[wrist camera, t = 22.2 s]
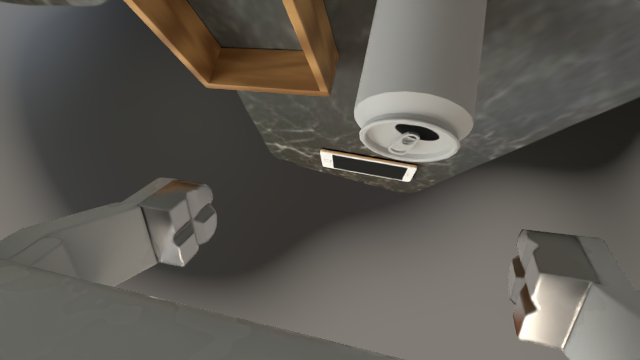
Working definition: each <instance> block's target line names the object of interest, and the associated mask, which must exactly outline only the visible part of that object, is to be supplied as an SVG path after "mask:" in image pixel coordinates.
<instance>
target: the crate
mask: <svg viewBox="0 0 640 360" xmlns="http://www.w3.org/2000/svg"><path fill="white" fill-rule="evenodd" d="M124 1H125V2H126V3H127V4H128V5H129V6H130V7H131V9H132V10H133V11H134V12H135V13H136V14H137V15H138V16H139V17H140V18H141V19H142V20H143V21H144V22H145V23H146V24H147V25H148V26H149V28H150V29H151V30H152V31H153V32H154V33H155V34H156V35H157V36H158V37H159V38H160V39H161V40H162V41H163V42H164V43H165V45H166V46H167V47H168V48H169V49H170V50H171V51H172V52H173V53H174V54H175V55H176V56H177V57H178V58H179V59H180V60H181V61H182V62H183V63H184V65H185V66H186V67H187V68H188V69H189V70H190V71H191V72H192V73H193V74H194V75H195V76H196V77H197V78H198V79H199V80H200V81H201V83H203V84H204V86H206V87H207V88H218V89H231V90H245V91H259V92H273V93H286V94H300V95H314V96H328V97H330V94H331V90H332V86H333V81H334V77H335V73H336V68H337V64H338V60H339V55H338V51H337V48H336V44H335V41H334V37H333V34H332V30H331V27H330V23H329V20H328V16H327V13H326V9H325V6H324V2H323V0H282V1H283V4H284V6H285V8H286V11H287V13H288V15H289V18H290V20H291V23H292V25H293V27H294V30H295V32H296V34H297V37H298V39H299V42H300V44H301V46H302V49H303V51H298V50H270V49H242V48H221V46H220V45H219V44H218V42H217V41H216V40H215V38H214V37H213V36H212V34H211V33H210V32H209V30H208V29H207V28H206V26H205V25H204V23H203V22H202V21H201V19H200V18H199V17H198V15H197V14H196V13H195V11H194V10H193V9H192V7H191V6H190V4H189V3H188V2H187V0H124Z"/></svg>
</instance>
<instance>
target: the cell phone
mask: <svg viewBox="0 0 640 360" xmlns="http://www.w3.org/2000/svg"><path fill="white" fill-rule="evenodd" d="M320 155H321V159H322V164H323V166H324V167H329V168H334V169H340V170H345V171H351V172H356V173H362V174H367V175H373V176H378V177H384V178H390V179H395V180H401V181H407V182H409V181H410V180H411V179H412V177H413V175H414V173H415V172H416V170H417V166H416V165H411V164H405V163H399V162H394V161H388V160H382V159H376V158H371V157H365V156H359V155H353V154H348V153H342V152H336V151H330V150H325V149H321V151H320Z"/></svg>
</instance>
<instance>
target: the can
mask: <svg viewBox="0 0 640 360" xmlns="http://www.w3.org/2000/svg"><path fill="white" fill-rule="evenodd" d="M486 7H487V0H377V3H376V8H375V13H374V18H373V23H372V27H371V32H370V37H369V42H368V47H367V51H366V56H365V61H364V66H363V70H362V75H361V80H360V85H359V90H358V94H357V99H356V104H355V109H354V116H355V120H356V122H357V123H358V125H359V126H360V127H361V131H360V132H359V135H360V140H361V141H362V142H363V144H364V145H365V146H366V147H367V148H369V149H371V150H372V151H374V152H376V153H378V154H380V155H383V156H386V157H389V158H393V159H397V160H403V161H410V162H431V161H439V160H442V159H446V158H449V157H450V156H452V155H454V154H455V153H457V151H458V149H459V148H460V143H459V141H460V140H462V139H463V138H464V137H466V136H467V135H468V134H469V133H470V131H471V129H472V128H473V125H474V116H475V107H476V98H477V89H478V80H479V71H480V62H481V53H482V43H483V34H484V25H485V16H486Z"/></svg>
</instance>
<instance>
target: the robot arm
mask: <svg viewBox="0 0 640 360" xmlns="http://www.w3.org/2000/svg"><path fill="white" fill-rule="evenodd" d="M212 199H213V195H212V191H211V188H210V187H209V186H208V185H206V184H201V183H195V182H189V181H182V180H176V179H169V178H158V179H156V180H155V181H153V182H152V183H151V184H149V185H147V186H146V187H144V188H143V189H141V190H140V191H138V192H137V193H135V194H134V195H132V196H130V197H129V198H127V199H126V200H124V201H123V202H121V203H117V202H116V203H112V204H109V205H105V206H101V207H98V208H94V209H91V210H87V211H84V212H80V213H76V214H73V215H69V216H66V217H62V218H59V219H55V220H51V221H48V222H44V223H41V224H37V225H34V226H30V227H27V228H23V229H20V230H18V231H17V232H15V233H13V234H12V235H10V236H8V237H7V238H4V239H3V240H1V241H0V360H404V359H400V358H396V357H392V356H388V355H384V354H380V353H376V352H372V351H368V350H364V349H360V348H356V347H352V346H348V345H344V344H340V343H336V342H333V341H328V340H325V339H321V338H316V337H312V336H309V335H305V334H300V333H296V332H292V331H288V330H284V329H280V328H276V327H272V326H268V325H264V324H260V323H256V322H252V321H248V320H244V319H240V318H236V317H232V316H228V315H224V314H220V313H216V312H211V311H208V310H204V309H200V308H196V307H192V306H188V305H184V304H180V303H176V302H172V301H168V300H164V299H160V298H155V297H152V296H148V295H144V294H140V293H136V292H132V291H128V290H124V289H120V288H116V287H114V286H115V285H118V284H119V283H121V282H123V281H125V280H126V279H129V278H131V277H133V276H134V275H136V274H138V273H140V272H142V271H144V270H146V269H148V268H150V267H151V266H153V265H155V264H157V262H161V263H166V264H171V265H178V266H182V267H184V266H185V265H186V264H187V263H188V262H189V261H190V260H191V259H192V258H193V256H194V255H195V254H196V253H197V252H198V246H199V245H201V244H204V243H206V242H208V240H209V239H210V238H211V237H212V236H213V234H214V231H215V229H216V226H217V216H216V211H215V210H214V209H213V207H212V206H211V205H210V203H211V201H212ZM516 245H517V249H518V253H519V255H518V256H517V257H515V258H513V259H512V262H511V266H510V270H509V279H508V291H509V297H510V300H511V301H512V302H513V303H514V304H515V305H516V306H515V309H514V312H513V318H514V323H515V328H516V333H517V338H518V339H520V340H524V341H528V342H532V343H537V344H540V345H545V346H548V347H553V348H557V349H561V350H563V352H564V354H565V355H566V356H567V357H568V358H569V359H570V360H640V291H638V290H635V289H634V288H633V286H632V285H631V283H630V281H629V280H628V278H627V277H626V275H625V273H624V272H623V270H622V268H621V267H620V265H619V264H618V262H617V260H616V259H615V257H614V256H613V254H612V252H611V251H610V249H609V248H608V246H607V244H606V243H605V241H604V240H602V239H600V238H595V237H585V236H576V235H566V234H558V233H549V232H540V231H532V230H523V229H522V230H521V232H520V234H519V237H518V241H517V244H516Z"/></svg>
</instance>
